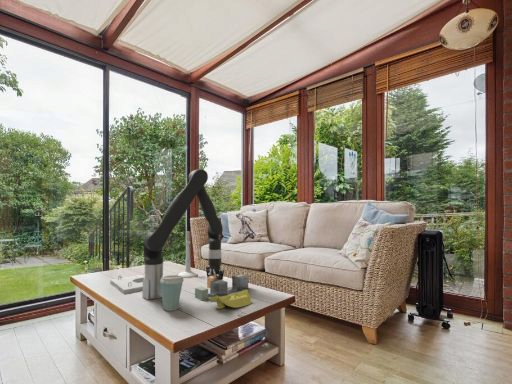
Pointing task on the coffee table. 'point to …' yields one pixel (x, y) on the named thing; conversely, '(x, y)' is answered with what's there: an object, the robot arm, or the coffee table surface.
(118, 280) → the mounting panel
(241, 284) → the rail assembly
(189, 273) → the candlestick
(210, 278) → the orange module
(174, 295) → the disposable coffee cup
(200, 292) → the green block
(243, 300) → the plastic component
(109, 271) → the coffee table surface
